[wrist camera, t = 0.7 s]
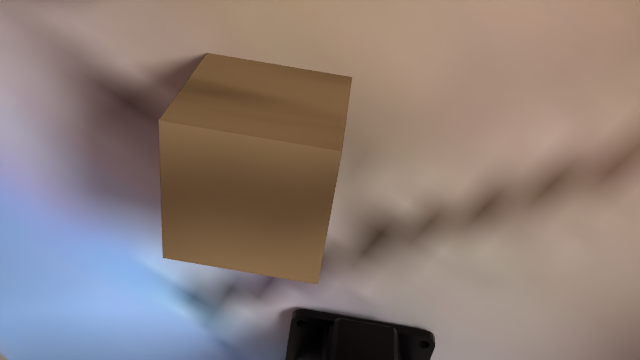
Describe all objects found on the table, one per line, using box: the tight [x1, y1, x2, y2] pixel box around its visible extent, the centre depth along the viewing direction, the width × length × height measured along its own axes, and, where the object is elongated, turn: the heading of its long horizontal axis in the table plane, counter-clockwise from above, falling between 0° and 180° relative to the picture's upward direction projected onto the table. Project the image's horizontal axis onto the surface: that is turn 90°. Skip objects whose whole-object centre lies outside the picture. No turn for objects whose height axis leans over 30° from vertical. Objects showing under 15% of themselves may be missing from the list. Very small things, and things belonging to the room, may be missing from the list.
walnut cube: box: [159, 53, 352, 284], centre depth 19 cm, size 5×5×5 cm
